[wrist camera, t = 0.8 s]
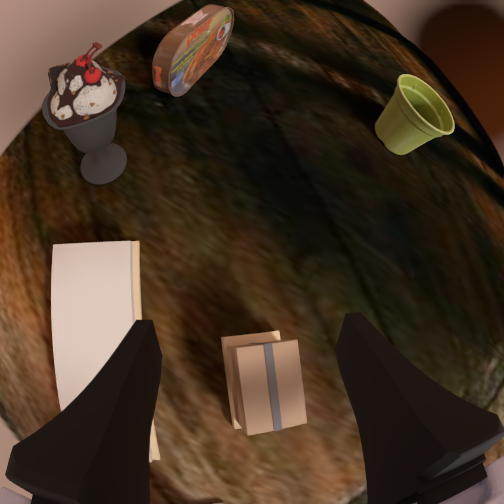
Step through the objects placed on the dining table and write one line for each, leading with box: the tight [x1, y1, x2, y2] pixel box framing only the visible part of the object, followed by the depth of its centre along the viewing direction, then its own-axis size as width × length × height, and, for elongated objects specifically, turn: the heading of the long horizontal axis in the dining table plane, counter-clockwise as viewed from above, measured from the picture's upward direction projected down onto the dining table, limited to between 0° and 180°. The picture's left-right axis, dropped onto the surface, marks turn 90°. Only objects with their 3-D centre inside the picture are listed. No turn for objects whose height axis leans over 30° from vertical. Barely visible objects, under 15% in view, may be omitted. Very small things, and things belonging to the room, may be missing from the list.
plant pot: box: [375, 74, 454, 155], centre depth 33 cm, size 9×9×9 cm
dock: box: [51, 241, 160, 462], centre depth 21 cm, size 8×19×2 cm, turn 6°
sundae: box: [42, 42, 127, 184], centre depth 20 cm, size 7×7×15 cm
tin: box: [152, 5, 234, 97], centre depth 29 cm, size 15×3×8 cm, turn 156°
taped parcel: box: [221, 331, 307, 435], centre depth 22 cm, size 8×5×6 cm, turn 7°
